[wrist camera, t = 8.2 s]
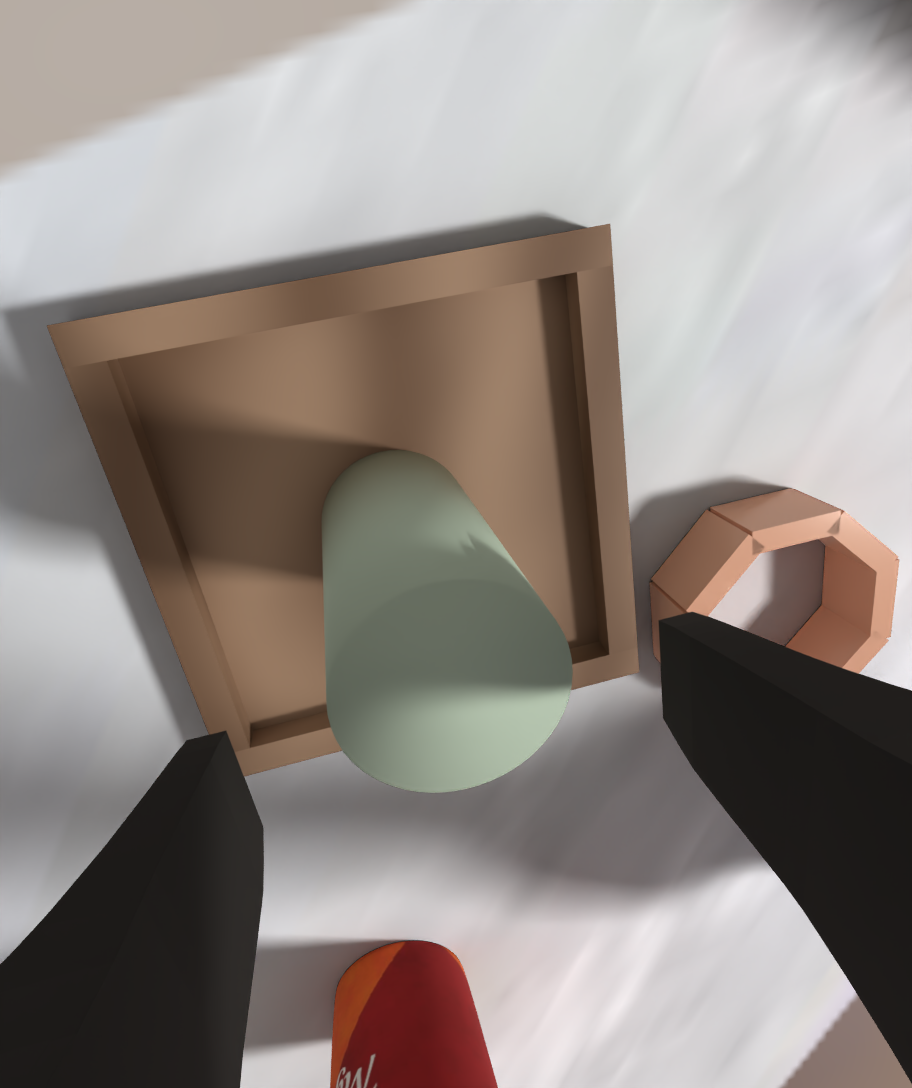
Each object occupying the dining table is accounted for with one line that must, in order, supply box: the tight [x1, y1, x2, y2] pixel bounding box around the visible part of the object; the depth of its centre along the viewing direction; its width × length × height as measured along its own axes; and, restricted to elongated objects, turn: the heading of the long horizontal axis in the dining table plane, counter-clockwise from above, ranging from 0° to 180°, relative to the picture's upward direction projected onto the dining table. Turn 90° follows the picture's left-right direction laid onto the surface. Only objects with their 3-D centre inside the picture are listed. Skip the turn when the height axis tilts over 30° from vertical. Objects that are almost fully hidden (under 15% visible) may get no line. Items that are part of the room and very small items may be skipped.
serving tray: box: [47, 224, 639, 776], centre depth 20 cm, size 14×14×1 cm
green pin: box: [322, 450, 573, 793], centre depth 16 cm, size 4×4×9 cm
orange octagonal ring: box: [650, 488, 899, 674], centre depth 23 cm, size 8×8×2 cm
